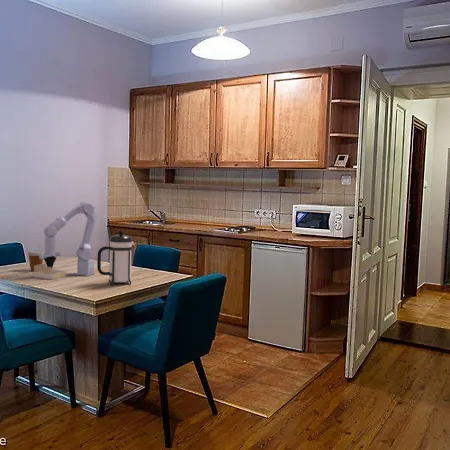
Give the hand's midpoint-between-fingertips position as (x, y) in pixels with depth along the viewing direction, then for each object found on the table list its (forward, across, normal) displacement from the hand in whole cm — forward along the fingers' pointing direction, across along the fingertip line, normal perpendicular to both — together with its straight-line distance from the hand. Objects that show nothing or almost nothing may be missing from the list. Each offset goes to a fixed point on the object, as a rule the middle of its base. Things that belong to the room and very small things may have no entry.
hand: (49, 269), depth 286 cm
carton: (+4, 0, 0) cm, 4 cm away
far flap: (-1, -1, +7) cm, 7 cm away
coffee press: (+4, +8, -43) cm, 44 cm away
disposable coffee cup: (+4, +9, +21) cm, 24 cm away
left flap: (-1, -5, -1) cm, 5 cm away
